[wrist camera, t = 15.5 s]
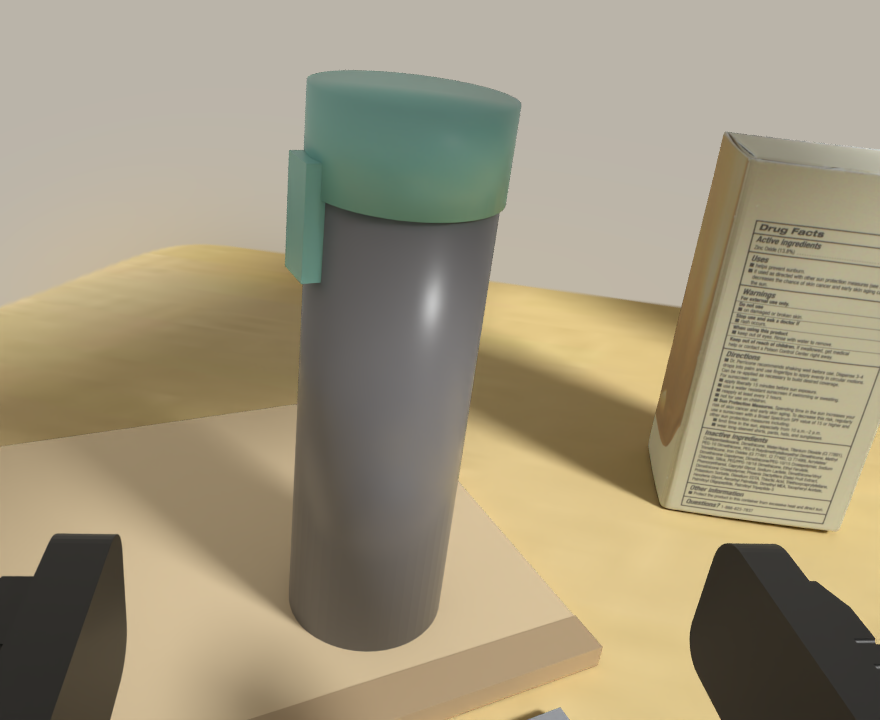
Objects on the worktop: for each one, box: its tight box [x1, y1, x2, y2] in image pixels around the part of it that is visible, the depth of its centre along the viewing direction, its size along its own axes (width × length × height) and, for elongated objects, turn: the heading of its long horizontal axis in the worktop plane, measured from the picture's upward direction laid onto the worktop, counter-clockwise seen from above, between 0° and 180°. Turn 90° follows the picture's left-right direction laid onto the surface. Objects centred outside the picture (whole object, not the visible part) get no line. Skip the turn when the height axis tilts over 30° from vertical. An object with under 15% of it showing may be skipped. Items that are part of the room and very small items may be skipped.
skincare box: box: [648, 132, 880, 531], centre depth 27 cm, size 6×4×12 cm
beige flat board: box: [0, 404, 603, 720], centre depth 20 cm, size 18×20×1 cm
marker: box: [285, 70, 521, 652], centre depth 19 cm, size 4×4×13 cm
